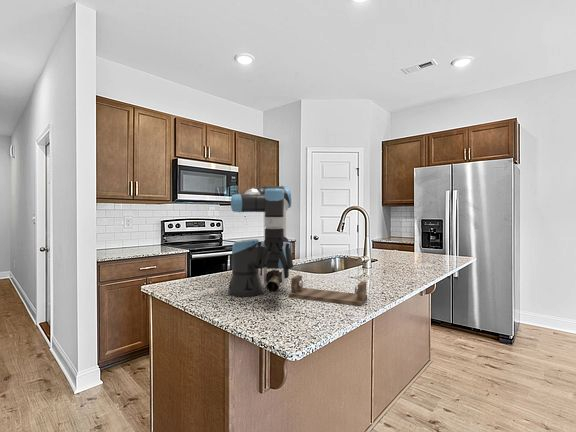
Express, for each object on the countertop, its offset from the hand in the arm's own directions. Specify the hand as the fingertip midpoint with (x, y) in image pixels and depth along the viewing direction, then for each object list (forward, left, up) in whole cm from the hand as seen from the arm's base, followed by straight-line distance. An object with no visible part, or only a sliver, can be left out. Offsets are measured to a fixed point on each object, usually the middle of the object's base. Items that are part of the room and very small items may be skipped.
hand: (274, 284), depth 128 cm
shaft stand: (+17, +16, -7) cm, 24 cm away
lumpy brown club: (0, -1, -1) cm, 1 cm away
